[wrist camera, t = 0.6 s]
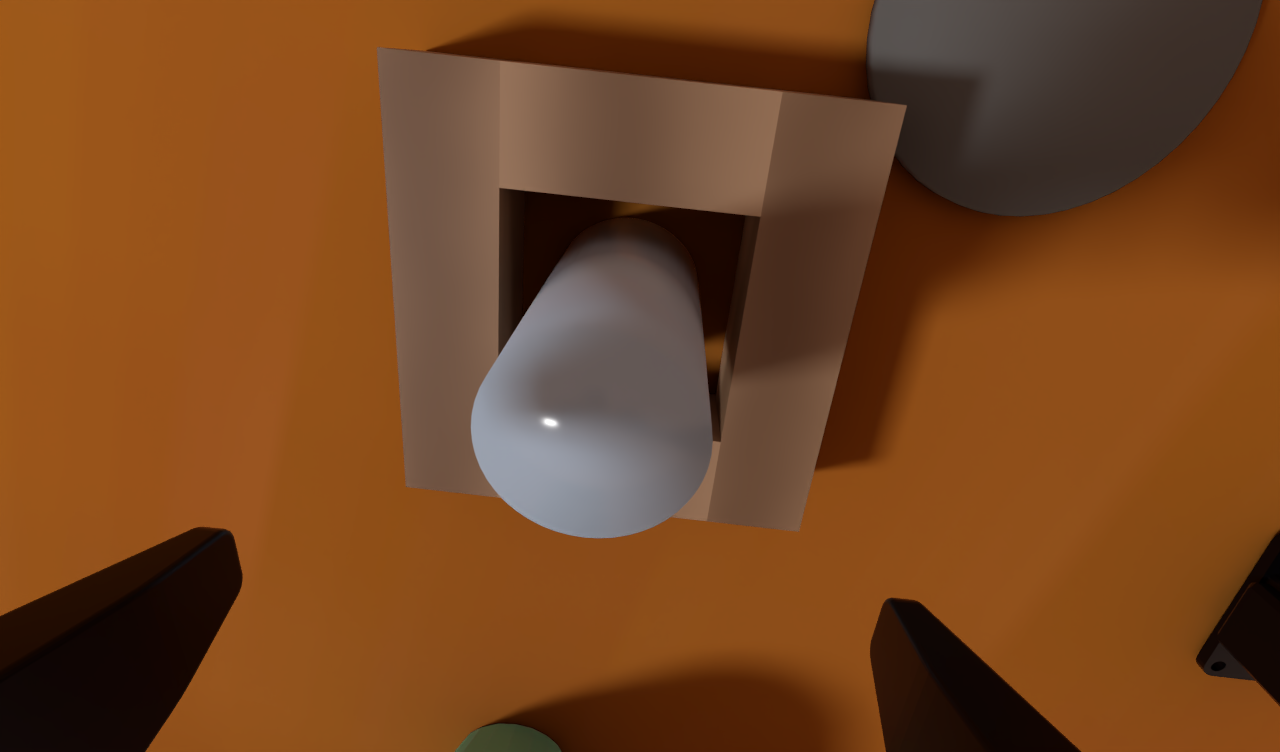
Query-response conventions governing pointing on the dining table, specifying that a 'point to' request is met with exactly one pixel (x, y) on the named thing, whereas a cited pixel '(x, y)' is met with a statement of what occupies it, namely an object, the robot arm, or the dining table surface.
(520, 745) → the mug
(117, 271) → the dining table surface
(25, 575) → the dining table surface
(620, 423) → the grey rounded cylinder
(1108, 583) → the dining table surface
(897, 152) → the coaster
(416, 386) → the frame
